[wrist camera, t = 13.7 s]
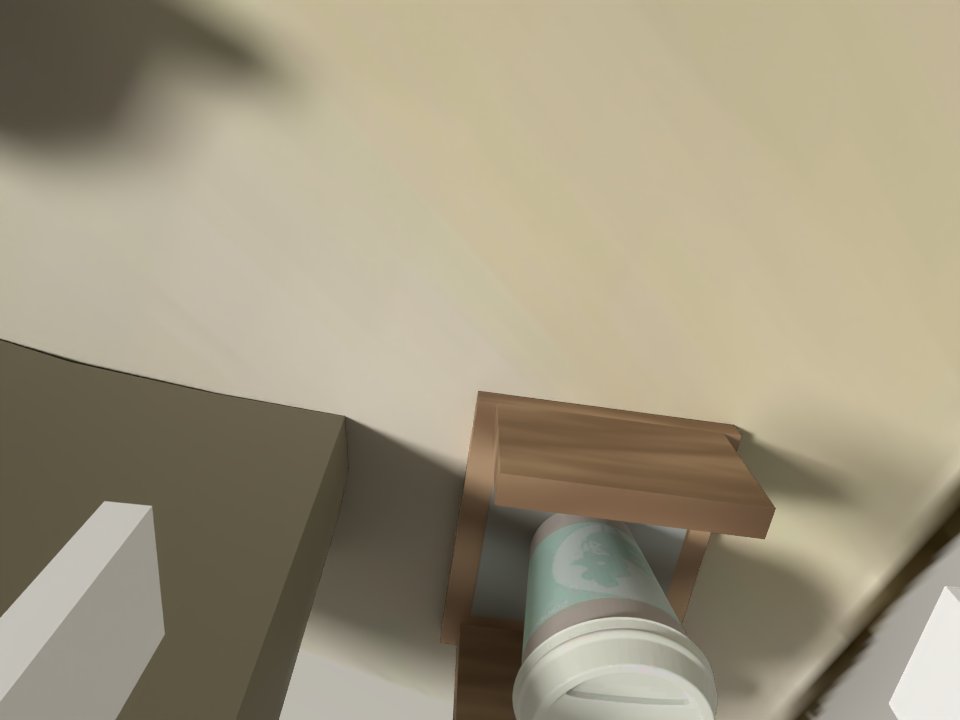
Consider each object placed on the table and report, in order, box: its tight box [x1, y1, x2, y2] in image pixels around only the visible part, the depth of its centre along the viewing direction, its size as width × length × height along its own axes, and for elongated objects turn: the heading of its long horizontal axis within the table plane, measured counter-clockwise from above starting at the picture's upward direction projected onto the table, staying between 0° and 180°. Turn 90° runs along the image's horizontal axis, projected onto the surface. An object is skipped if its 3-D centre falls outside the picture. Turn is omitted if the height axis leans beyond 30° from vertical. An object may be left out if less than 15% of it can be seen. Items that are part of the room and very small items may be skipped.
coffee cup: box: [512, 513, 717, 720], centre depth 33 cm, size 9×9×12 cm
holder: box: [440, 391, 776, 720], centre depth 36 cm, size 16×14×8 cm
